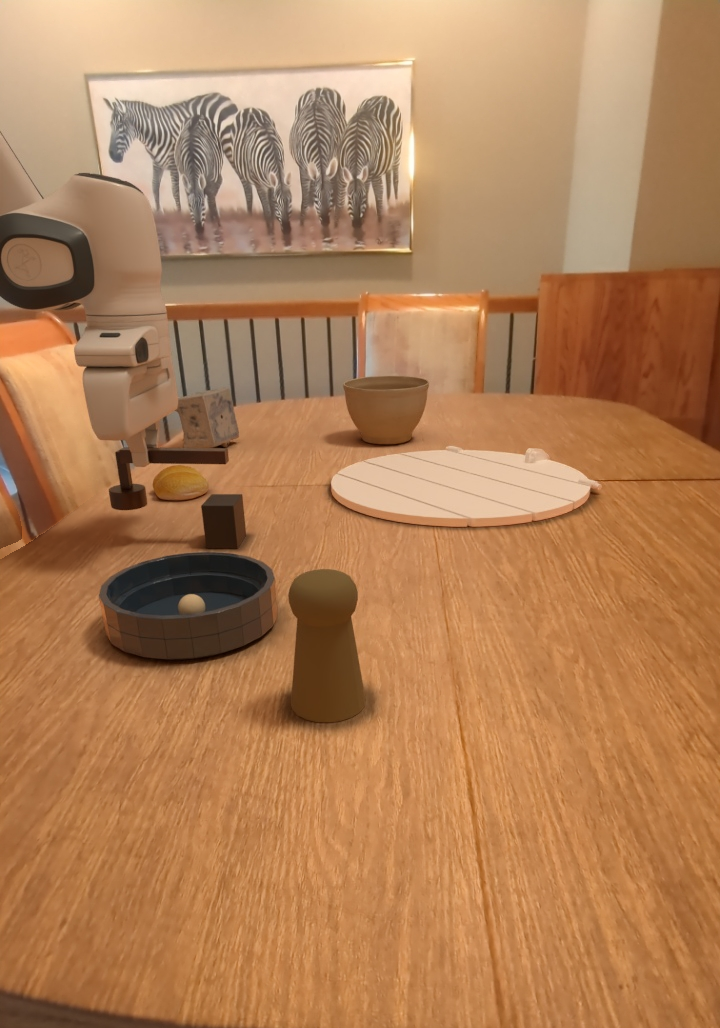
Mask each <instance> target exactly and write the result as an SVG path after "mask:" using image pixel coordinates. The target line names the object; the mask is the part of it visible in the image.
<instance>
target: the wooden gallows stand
mask: <svg viewBox="0 0 720 1028" xmlns="http://www.w3.org/2000/svg"><path fill="white" fill-rule="evenodd" d="M147 449H149V450H150V458H151V463H150V464H158V465H159V464H161V465H163V464H164V465H166V464H168V465H227V464H228V463H229V462H230V460H229V459H230V458H229V449H228V447H226V448H225V447H223V448H221V447H212V448H184V447H158V448H149V447H147ZM114 453H115V460H116V467H117V474H118V480H119V484H117V485H114V486H111V487H109V489H108V496H109V501H110V502H109V503H110V507H111V509H112V510H115V511H116V510H117V511H133V510H134V511H135V510H140V509H143V508H145V507H146V506H148V496H147V489H146V486H145V485H144V484H141V483H133V478H132V477H133V476H132V470H131V464H133V461H132V454H131V451H130V449H129V447H128V446H124V447H122V448H120V449H118V450H116V451H115V452H114Z"/></svg>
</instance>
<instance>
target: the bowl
mask: <svg viewBox="0 0 720 1028" xmlns="http://www.w3.org/2000/svg"><path fill="white" fill-rule="evenodd" d="M189 594H195V595H198V596H199V597H201V598H202V599H203V601H204V603H205V612H201V613H195V614H188V615H180V613H179V610H178V604H179V602H180V600H181V599H182V598H183V597H184V596H186V595H189ZM98 599H99V604H100V605H99V606H100V610H101V615H102V620H103V625H104V630H105V634H106V636H107V638H108V640H109V642H110V644H112V645H113V646H114V647H116V648H117V649H119V650H121V651H123V652H125V653H127V654H131V655H136V656H139V657H142V658H149V659H155V660H169V661H178V660H179V661H183V660H194V659H203V658H207V657H212V656H213V657H214V656H218V655H221V654H226V653H228V652H231V651H234V650H236V649H239V648H241V647H244V646H246V645H248V644H250V643H252V642H253V641H255V640H258V639H259V638H261V637H263V636H264V635H265V634H266V633H267V632H269V631H270V629H271V628H273V627H274V625H275V623H276V621H277V618H278V616H279V614H278V601H277V589H276V578H275V574H274V571H273V569H272V568H271V567H270V566H268V564H266V563H265V562H264V561H261V560H259V559H257V558H254V557H252V556H248V555H244V554H243V555H242V554H236V553H231V552H218V551H203V552H185V553H177V554H170V555H164V556H160V557H156V558H152V559H148V560H144V561H141V562H138V563H135V564H133V565H130V566H128V567H125V568H123V569H122V570H120V571H118V572H115V573H114V574H112V575H111V576H109V577H108V578H107V579H106V580H105V581H104V583H102V584H101V586H100V589H99V593H98Z"/></svg>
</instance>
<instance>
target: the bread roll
mask: <svg viewBox="0 0 720 1028" xmlns="http://www.w3.org/2000/svg"><path fill="white" fill-rule="evenodd" d="M209 483H210V482H209V481H208V479H207V478H206V477H204V475H203V474H202V473H201V472H200V471H199V470H197V469H196V468H194V467H191V466H188V465H184V464H174V465H170V466H167V467H165V468H163V469H162V470H160V471H159V472H158V474H156V475H155V477H154V478H153V480H152V489H153V490H154V493H155V495H156V496H157V498H159V499H160V500H163V501H187V500H192V499H196V498H199V497H200V496H204V494H206V493H207V492H208V491H209V487H210V484H209Z"/></svg>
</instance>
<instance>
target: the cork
mask: <svg viewBox="0 0 720 1028" xmlns="http://www.w3.org/2000/svg"><path fill="white" fill-rule="evenodd" d="M287 596H288V604H289V606H290V608H291V609H290V610H291V612H292V615H293V616H294V617H295V618H296V629H295V630H296V631H295V644H294V654H293V655H294V657H293V669H292V672H293V673H292V681H291V682H292V683H291V695H290V697H291V698H290V706H291V710H292V711H293V712H294V714H295V715H297V716H298V717H300V718H302V719H304V720H306V721H310V722H314V723H330V724H331V723H336V722H343V721H345V720H348V719H351V718H354V717H355V716H357V715H358V714H359V713H362V710H363V709H364V708H365V706H366V694H365V689H364V681H363V676H362V671H361V665H360V664H361V663H360V659H359V653H358V647H357V642H356V636H355V632H354V630H355V629H354V624H353V618H352V616H353V614H355V612H356V609H357V605H358V600H359V592H358V588H357V585H356V583H355V582H354V580H353V579H352V577H351V576H350V575H349V574H347V573H345V572H343V571H340V570H337V569H330V568H320V569H319V568H318V569H311V570H308V571H305V572H303V573H300V574H299V575H298V576H296V577H295V578H294V579H293V580H292V582H291V584H290V586H289V590H288V595H287Z"/></svg>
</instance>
